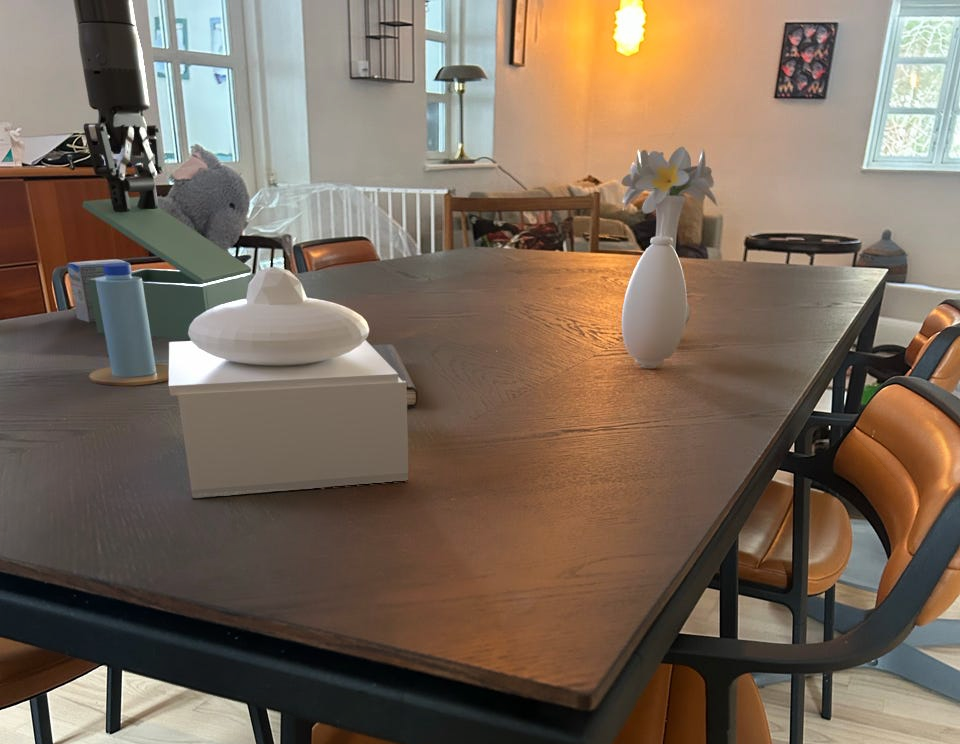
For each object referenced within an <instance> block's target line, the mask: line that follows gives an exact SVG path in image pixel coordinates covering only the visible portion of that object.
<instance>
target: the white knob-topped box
mask: <svg viewBox="0 0 960 744" xmlns="http://www.w3.org/2000/svg"><path fill="white" fill-rule="evenodd" d="M368 324H369V323H368V322H367V321H366V319H365V318H364V317H363V316H362V315H361V314H359V313H358V312H356V311H354V310H353V309H351V308H349V307H346V306H344V305H341V304H338V303H336V302H331V301H328V300H323V299H318V298H311V297H307V294H306V292H305V289H304V286H303V284H302V282H301V281H300V280H299V279H298V278H297V277H296V276H295V274H293V273H292V272H291V271H290V270H289V269H285V268H281V267H277V266H271V267H267V268H264V269H261V270H258V271H257V272H256V273H255V275H254V276H253V277H252V278H251V281H250V283H249V285H248V291H247V297H246V299H243V300H238V301H233V302H230V303H226V304H222V305H219V306H216V307H214V308H212V309H209V310H207V311H205V312H204V313H202V314H201V315H199V316H198V317H196V318H195V319H194V320H193V322H192V323H191V324H190V326H189V331H188V335H189V337H190V339H189V340H188V341H187V340H186V341H183V340H182V341H169V342H168V366H169V380H168V391H169V396H170V397H174V396H175V397H177V401H178V408H179V409H178V410H179V415H180V416H179V417H180V422H181V429H182V435H183V441H184V442H183V443H184V449H185V457H186V463H187V464H186V465H187V471H188V477H189V484H190V491H191V495H192V494H199V493H216V492H217V493H218V492H236V491H247V490H269V489H287V488H302V487H303V488H305V487H323V486H336V485H337V486H340V485H354V484H368V483H382V482H392V481H403V480H408V481H409V472H410V471H409V470H410V469H409V466H410V465H409V435H408V434H409V432H408V431H409V428H408V408H407V387H406V381H402V380H401V379H400V378H399V377H398V373H397V372H396V371H395V370H394V369H393V368H392V367H391V366H390V365H389V364H388V363H387V362H386V361H385V360H384V359H383V358H382V357H381V356H380V355H379V354H378V353H377V351H376V350H375V349H374V348H373V347H372V346H371V345H372V344H370V343H369V342H368V341H367V338H368V336H369V333H370V327H369V325H368ZM382 484H383V483H382Z"/></svg>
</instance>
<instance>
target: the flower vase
mask: <svg viewBox="0 0 960 744" xmlns="http://www.w3.org/2000/svg"><path fill="white" fill-rule="evenodd" d="M706 162H707V161H706V152H705V149H704V148H702V150H701V153H700V156H699V160H698V164H697V165H692V159H691V156H690V153H689V151H687V150H686V148H685V147H684V146H680V147H678V148H676V149H675V150H674V151H673V152H672V154H671V155H670V157H669V159H668V161H667V160H666V158H665V157H664V152H663V151H662V152H659V151H657V150H651V152H648V150H647V149H642V150H641V151H639V149H638V150H637V154H636V164H635V162H632V164H631V166H630V173H628V174H626V175H625V176H624V177H623V178H622V179H621V184H622V186H624V187H627V189H626V191H625V193H624V195H623V198H622V204H624V203H625V204H624V206H623V209H622V211H624V210H625V209H626V208H627V206H628V205H629V204H630V203H631V202H633V201H634V200H636V199H637V198H638V197H639V196H641V194H642V193H643V192H645V191H647V192H649V194H648V196H647V197H646V198H645V200H644V202H643V203H642V204H643V205H642V207H641V210H642V212H643V214H650V213H652V212H654V211H655V218H656V224H655V236H654V237H657V236H660V230H661V223H662V217H663V214H664V213H665V230H664V236H665V237H670V238H672V244H670V245H671V246H672V247H673V248H674V250H675V251H676V247H677V236H678V228H679V222H680V218H681V213H682V210H683V206H684V204H685V202H686V201H687V196H686V195H688V196H690V197H691V198H693V199H694V200H696V201H699V202H702V201H704V200H705V199H706V197H707V198H708V199H709V200H710V201H711V202H712V203H713V204H714V205H715V206H716V207H718V206H719V205H718V202H717V199H716V197H715V195H714V193H713V192H712V190H711V189H710V188H713V187H714V186H715V181H714V177H713V175H712V171H713V170H712V169H711V168H710V167H709V166H706V164H707V163H706ZM650 192H651V193H650ZM690 317H691V307H690V304H689V303H688V301H687V313H686V321H685V326H686V325H687V323H688V322H689V320H690Z"/></svg>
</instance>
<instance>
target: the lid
mask: <svg viewBox="0 0 960 744" xmlns="http://www.w3.org/2000/svg"><path fill="white" fill-rule="evenodd" d="M122 181H126V184H127V190H128V193H140V192H141V195H140V194H139V196H134V197H133V196H132V197H129V203H130V211H129V212H116V211H114V209H113V205H112V202H111V198H109V199H107V198H106V199H94V200H93V199H92V200H84V201H83V202H82V207H81V208H83V209H84V210H87V211H88V212H90V213H91V214H93V215H94V216H95V217H97V218H98V219H100V220H102V222H104V223H106V224H108V226H110V227H112V228H113V229H115V230H117V231H118V232H120V233H121V234H123V235H125V236H126V237H127V238H129V239H131V240H132V241H134V242H135V243H137V244H138V245H140V246H141V247H143V249H145V250H147V251H148V252H150V253H152V254H154V255H155V256H156V257H158V258H160V259H161V260H162V261H164V262H166V263H167V264H169V265H170V266H172V267H173V268H175V270H179V271H181V272H182V273H184V274H185V275H187V276H188V277H190V278H191V279H193V280H194V281H196V282H197V283H199V284H200V285H203V284H207V283H211V282H215V281H219V280H223V279H227V278H231V277H235V276H239V275H244V274H251V270H252V267H250V266H249V265H248V264H246V263H244V262H242V261H241V260H240V259H238V258H236V257H235V256H234V255H232V254H231V253H229V252H227V251H226V250H225V249H223V248H221V247H220V246H218V244H215V242H213V241H211V240H209V239H208V238H206V237H205V236H203V235H202V234H200V233H199V232H198V231H196V230H195V229H193V228H191V227H189V226H188V225H187V224H185V223H184V222H182V221H181V220H179V219H177V218H176V217H175V216H173V215H172V214H170V213H169V212H167V211H165V210H164V209H163V208H161V207H159V206H158V208H157V209H144V206H145V203H146V199H147V196H148V193H149V191H152V190H153V189H154V188H155V186H156V181H155V182H154V180H153V179H152V178H151V177H149V176H146V177H138V176H125V179H124V180H122Z"/></svg>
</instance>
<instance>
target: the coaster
mask: <svg viewBox="0 0 960 744" xmlns="http://www.w3.org/2000/svg"><path fill="white" fill-rule="evenodd" d="M155 367H156V372H155V373H154V374H151V375H147V376H141V377H118V376H114V375H113V374H112V371H111V366H106V367H101V368H99V369H96V370H94V371H93V370H92V372H90V373H89V375H88V377H89V380H90V382H93V383H95V384H98V385H102V386H103V385H104V386H115V387H128V386H129V387H131V386H133V387H134V386H144V385H152V384H158V382H159V383H163V382H167V381H169V365H167V364H159V363H158V364H157V363H155Z"/></svg>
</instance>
